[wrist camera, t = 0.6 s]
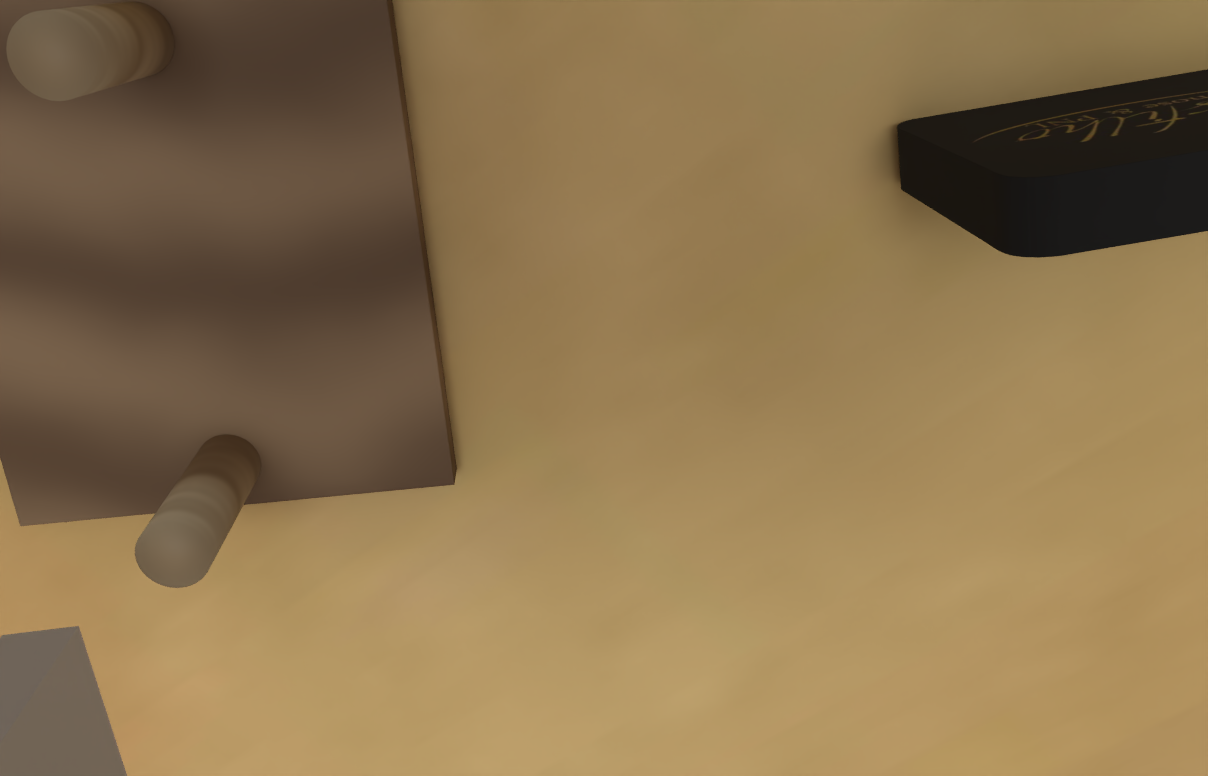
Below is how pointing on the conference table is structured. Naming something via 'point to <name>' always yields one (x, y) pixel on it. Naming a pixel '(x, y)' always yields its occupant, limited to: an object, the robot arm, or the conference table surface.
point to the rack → (210, 266)
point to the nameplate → (1068, 167)
